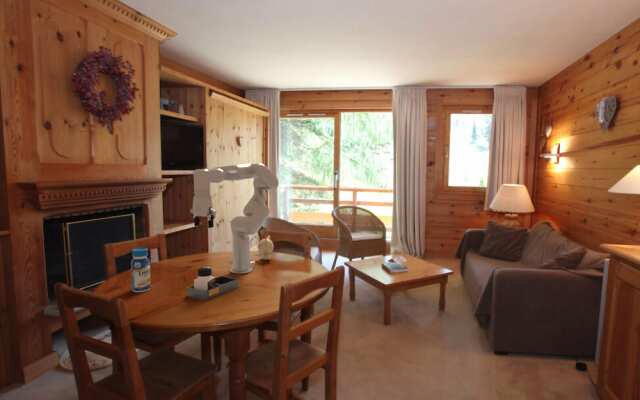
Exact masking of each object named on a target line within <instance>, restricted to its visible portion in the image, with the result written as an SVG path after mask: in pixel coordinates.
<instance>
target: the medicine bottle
mask: <svg viewBox="0 0 640 400" xmlns="http://www.w3.org/2000/svg"><path fill="white" fill-rule="evenodd" d="M216 278H217V277H216V276H212V268H211V267H208V266H202V267H200V268H198V269H197V278H195V279H194V280H193V285H194V289H197V290H200V291H206V290H209V289H212V288H214V287H216Z"/></svg>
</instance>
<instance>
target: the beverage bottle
mask: <svg viewBox="0 0 640 400" xmlns="http://www.w3.org/2000/svg"><path fill="white" fill-rule="evenodd" d="M131 251H132V252H131V253H132V254H131V255H132V259H131V263H130V266H131V268H130V272H131V283H132V284H131V291H132V292H133V293H144V292H148V291H150V290H151V287H152V286H151V266H150V263H151V261H150V258H149V257H147V256H148V255H149V249H148V247H138V248H133V249H132V250H131Z"/></svg>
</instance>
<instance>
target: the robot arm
mask: <svg viewBox="0 0 640 400" xmlns="http://www.w3.org/2000/svg"><path fill="white" fill-rule="evenodd" d="M249 179H253V182H252V185H253V194H252V196H251V198H250V199H249V201H248V202H247V203H246V204H245V206H244V207H243V210H242V214H243V215H237V216H235V217H233V218H232V219H231V221H230V230H231V234H232V267H230V269H229V270H230V273H232V274H237V275H239V274H247V273H248V274H249V273H251V272H253V267H252V266H253V265H255V264H256V262H255V261H254V260H253V261H251V256H250V255H251V254H250V253H251V251H250V250H251V249H250V248H251V247H250V245H251V242H250V241H251V240H250V236H251V235H256V234H257V233H258V232H259V231H260V230H261V227H262V226H263V225H264V223H266V221H267V219H268V218H269V214H270V208H269V206H268V205H267V204H266V202H267V200H268V197H267V196H268V195H267V192H266V191H274V190H276V189H277V188H278V187H279V178H278V177H277V176H276V175H275V174H274V173H273V172H272V170H270V169H269V168H268V167H267V166H266V165H265V164H263V163H253V162H252V163H242V164H233V165H226V166H225V165H224V166H216V167H215V166H214V167H206V168H203V169H202V168H201V169H200V168H199V169H195V170H193V187H194V188H193V189H194V191H193V193H194V196H193V199H192V207H191V209H189V210H190V214H191V216H192V218H193V221H194V222H193V225H194V227H200V225H201V220H200V217H203V218H204V217H206V218H207V228H208V229H210V228H214V227H215V226H214V225H215V224H214V220H215V218H216V216H217V211H216V210H215V209H214V208H213V199H212V196H211V184H218V183H219V184H220V183H222V182H224V181H230V182H231V181H232V182H233V181H241V180H249ZM249 235H250V236H249Z"/></svg>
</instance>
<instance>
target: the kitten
mask: <svg viewBox="0 0 640 400" xmlns="http://www.w3.org/2000/svg"><path fill="white" fill-rule="evenodd" d="M274 247H275V246H274V243H273V241H272V240H271V235H268V236H267V237H265V238H263V239H260V241H259V242H258V244H257V249H258V252H259V253H260V260H261V259H262V260H263V261H267V260H271V258H272V252H273V251H274Z"/></svg>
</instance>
